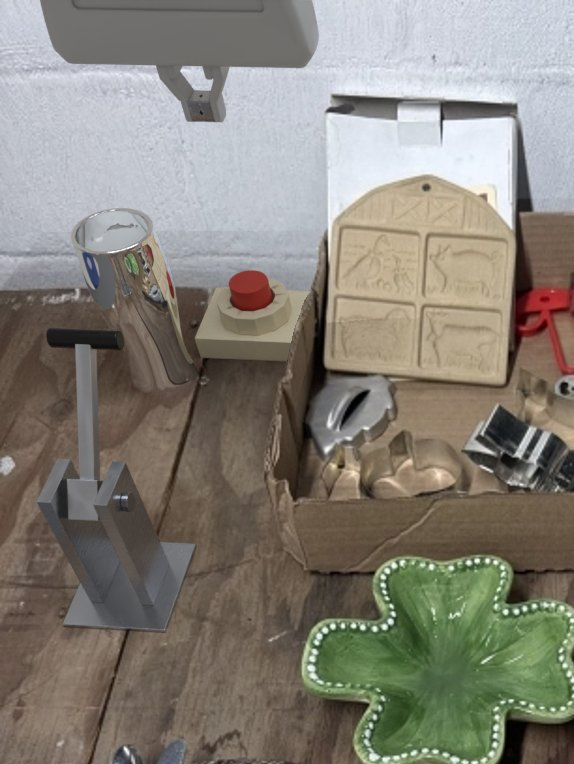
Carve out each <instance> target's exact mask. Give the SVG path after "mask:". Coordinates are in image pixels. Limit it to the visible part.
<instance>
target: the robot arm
mask: <svg viewBox="0 0 574 764" xmlns="http://www.w3.org/2000/svg"><path fill="white" fill-rule="evenodd" d="M39 2H40V7H41V11H42V15H43V16H42V17H43V19H44V24H45V26H46V30H47V33H48V36H49V40H50V43H51V46H52V48H53V50H54V51H55V52H56V53H57V54H58V56H60V57H61V58H62V59H63V60H64V61H65V62H66V63H67V64H72V65H109V66H110V65H111V66H112V65H113V66H114V65H116V66H117V65H119V66H155V68H156V71H157V75H158V77H159V80H160V81H161V82H162V84H164V86H165V87H166V88H167V89H168V90H169V91H170V93H172V95H173V96H174V98H176V100H178V102H180V104H181V109H182V111H183V115H184V118H185V121H186V122H188V123H224V122H225V119H226V117H227V108H226V104H225V100H224V96H223V92H224V88H225V84H226V82H227V78H228V75H229V71H230V68H268V69H269V68H272V69H274V68H275V69H304V68H306V67H307V66H308V64H309V63H310V61H311V60H312V59H313V56H314V55H315V53H316V51H317V48H318V44H319V40H320V39H319V38H320V34H319V33H320V32H319V25H318V21H317V16H316V11H315V6H314V3H313V0H39ZM183 67H202V71H203V74H204V78H205V79H206V80H209V81H210V80H212V85H211V88H210V90H198V89H197V90H196V89H194V87H193V86H192V85H191V83H190V82H189V81H188V79H187V78H186V77H185V75H184V74H183V73H182V72H181V70H182V68H183Z"/></svg>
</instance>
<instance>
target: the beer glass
mask: <svg viewBox="0 0 574 764" xmlns="http://www.w3.org/2000/svg"><path fill="white" fill-rule="evenodd" d="M70 239H71V242H72V244H73V247H74V250H75V254H76V258H77V262H78V264H79V267H80V270H81V273H82V277H83V279H84V281H85V285H86V286H87V290H88V292H89V294H90V296H91V298H92V301H93V303H94V304H95V307H96V308H97V310H98V312H99V314H100V316H101V317H102V319H103V320H104V322H105V324H106V325H107V327H108V328H109V330H119V331H121V332H122V334H123V337H124V348H123V349H122V351H123V353H124V356H125V358H126V361H127V364H128V368H129V373H130V381H131V383H132V386H133V387H134V389H136V390H137V391H139V392H142V393H144V394H147V395H151V396H164V395H169V394H174V393H176V392H179V391H180V390H183V389H184V388H186V387H187V386H189V385H190V384H191V383H192V382H193V381H196V382H197V381H198V382H199V381H200V371H199V369H198V367H197V365H196V363H195V361H194V360H193V358H192V356H191V354H190V353H189V351H188V349H187V346H186V344H185V340H184V336H183V331H182V325H181V318H180V317H181V316H180V310H179V303H178V295H177V291H176V287H175V286H176V285H175V280H174V277H173V273H172V270H171V267H170V264H169V260H168V258H167V255H166V252H165V250H164V247H163V246H162V243H161V240H160V239H159V235H158V234H157V231H156V229H155V226H154V223H153V220H152V219H151V218H150V216H149V215H148V214H146V213H145V212H143V211H140V210H138V209H134V208H129V207H128V208H126V207H115V208H108V209H103V210H100V211H96V212H94V213H92V214H89V215H87V216H86V217H83V218H82V219H81V220H79V221H78V222H77V223H76V224H75V225H74V227H73V229H72V231H71V234H70Z"/></svg>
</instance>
